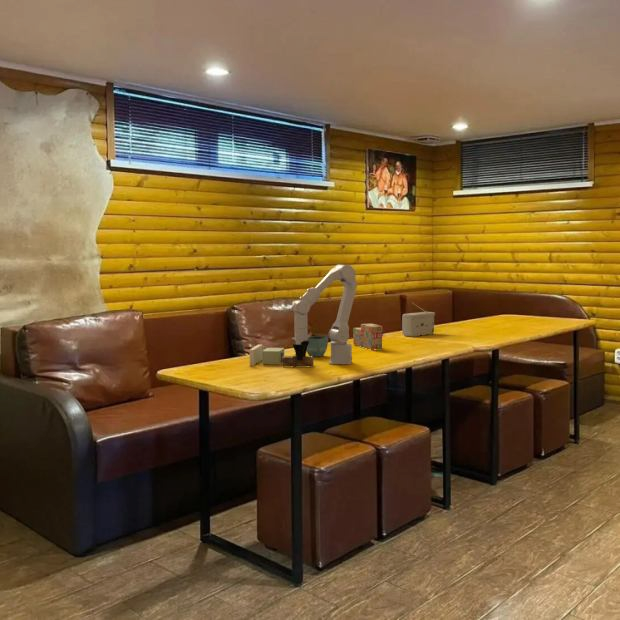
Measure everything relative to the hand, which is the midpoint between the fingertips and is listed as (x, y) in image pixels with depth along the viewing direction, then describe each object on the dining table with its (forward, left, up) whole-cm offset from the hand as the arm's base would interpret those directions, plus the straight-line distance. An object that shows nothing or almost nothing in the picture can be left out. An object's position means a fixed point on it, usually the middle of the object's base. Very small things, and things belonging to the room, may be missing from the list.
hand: (301, 358), depth 292 cm
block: (+14, -7, -3) cm, 16 cm away
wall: (+22, -7, -3) cm, 23 cm away
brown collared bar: (+2, 0, -3) cm, 4 cm away
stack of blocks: (-24, -58, -4) cm, 63 cm away
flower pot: (-3, -27, -4) cm, 27 cm away
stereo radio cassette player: (-50, -109, -4) cm, 120 cm away
